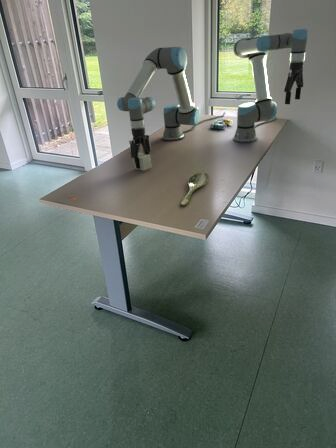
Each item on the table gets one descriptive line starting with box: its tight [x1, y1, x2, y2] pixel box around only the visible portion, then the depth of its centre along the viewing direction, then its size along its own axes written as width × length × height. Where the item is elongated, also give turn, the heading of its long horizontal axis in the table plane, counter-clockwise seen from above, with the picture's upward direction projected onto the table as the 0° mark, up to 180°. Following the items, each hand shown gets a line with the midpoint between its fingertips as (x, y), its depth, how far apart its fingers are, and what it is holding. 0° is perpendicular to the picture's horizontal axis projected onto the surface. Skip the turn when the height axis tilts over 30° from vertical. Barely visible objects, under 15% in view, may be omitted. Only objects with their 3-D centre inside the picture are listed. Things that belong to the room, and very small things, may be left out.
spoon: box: [180, 171, 210, 207], centre depth 170 cm, size 35×11×2 cm, turn 159°
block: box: [132, 152, 152, 172], centre depth 197 cm, size 7×8×7 cm
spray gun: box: [210, 117, 234, 130], centre depth 264 cm, size 21×4×15 cm
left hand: (142, 166), depth 198 cm, fingers closed on block, 7 cm apart
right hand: (292, 101), depth 195 cm, fingers open, 13 cm apart
